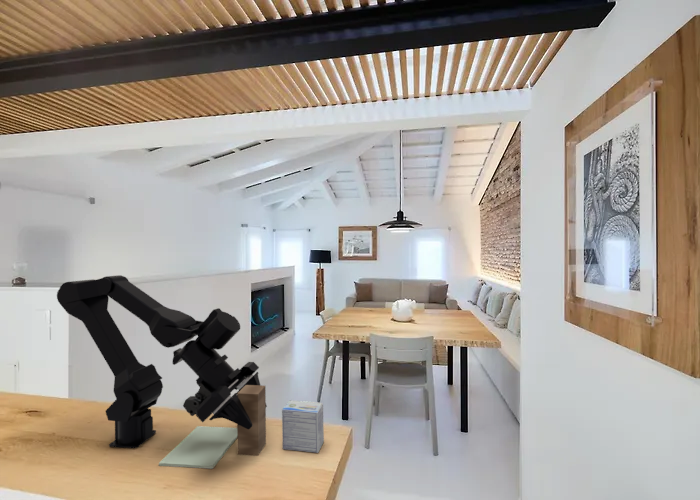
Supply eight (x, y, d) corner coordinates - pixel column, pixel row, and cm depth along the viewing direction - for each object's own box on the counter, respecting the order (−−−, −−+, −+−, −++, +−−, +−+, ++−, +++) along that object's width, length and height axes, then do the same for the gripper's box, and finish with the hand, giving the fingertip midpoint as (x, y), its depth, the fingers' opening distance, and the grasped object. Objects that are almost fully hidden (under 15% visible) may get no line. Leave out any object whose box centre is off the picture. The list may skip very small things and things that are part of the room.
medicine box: (324, 442, 74) (323, 402, 74) (318, 454, 70) (317, 411, 70) (289, 438, 76) (289, 399, 76) (281, 450, 72) (281, 408, 72)
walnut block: (237, 454, 70) (237, 393, 70) (246, 442, 74) (245, 384, 74) (258, 455, 70) (257, 394, 70) (265, 443, 74) (265, 385, 74)
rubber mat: (158, 465, 67) (158, 463, 67) (197, 428, 81) (197, 426, 81) (212, 468, 66) (212, 466, 66) (242, 430, 80) (242, 428, 80)
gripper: (205, 373, 83) (249, 421, 82) (153, 409, 64) (210, 471, 63) (236, 341, 82) (281, 389, 81) (192, 368, 64) (251, 431, 62)
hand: (258, 417), depth 72 cm, fingers open, 8 cm apart
